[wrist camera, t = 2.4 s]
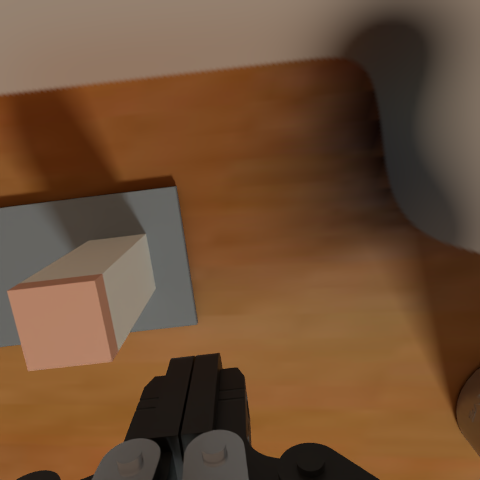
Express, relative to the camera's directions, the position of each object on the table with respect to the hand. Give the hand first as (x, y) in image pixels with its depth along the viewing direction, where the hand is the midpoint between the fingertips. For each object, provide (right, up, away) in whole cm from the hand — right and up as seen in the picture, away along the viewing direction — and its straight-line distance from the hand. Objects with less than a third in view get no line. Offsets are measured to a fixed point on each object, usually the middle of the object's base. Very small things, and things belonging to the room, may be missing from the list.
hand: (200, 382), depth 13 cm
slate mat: (-11, +2, +16) cm, 20 cm away
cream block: (-7, +3, +16) cm, 17 cm away
